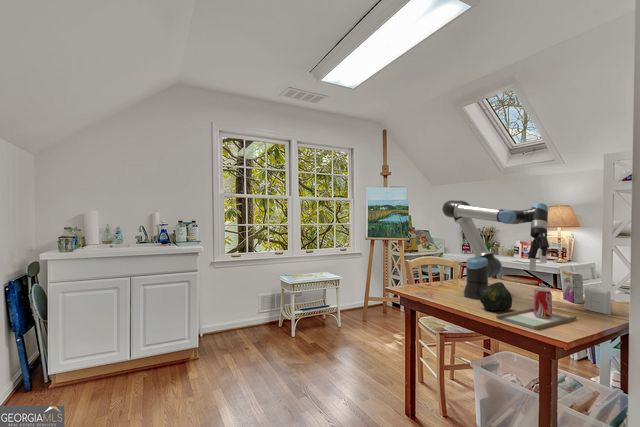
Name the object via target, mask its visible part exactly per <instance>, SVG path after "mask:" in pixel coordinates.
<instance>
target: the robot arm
mask: <svg viewBox="0 0 640 427" xmlns="http://www.w3.org/2000/svg"><path fill="white" fill-rule="evenodd" d="M548 208H549V207H548V206H547V204H545V203H541V202H536V203H534V204H532V205H531V208H528V209H522V210H516V209H515V210H511V209H502V208H492V207H486V206H478V205H477V206H475V205H471V204H470V203H469V202H468V201H465V200H453V199H452V200H451V199H450V200H447V201H445V203H443V205H442V209H441V210H442V213H443V214H444V216H446V217H447V218H452V219H453V220H454V222H455V223H456V224H458V225H459V227H460V229H461V230H462V232H463V235H464V236H465V240H466V242H468V245H469V246H470V249H471V251H472V252H473V255H474V256H473V257H469V258H467V259H466V264H465V266H466V270H465V271H466V284H465V288H464V290H463V296H464V297H466V298H468V299H475V300H480V293H481V291H482V289H484V288H485V287H487V286H489V278H495V277H497V276H498V275H500V274H501V272H502V270H503V263H502V262H501V260H500V259H498V258H497V257H495V254H494V253H493V252H491V251H489V250H488V247H487V245H486V244H485V242H484V240H483V238H482V236H481V233H480V232H479V229H478V228H477V226H476V224H475V223H474V220H473V219H476V220H481V221H482V220H483V221H489V222H495V223H496V222H498V223H502V224H505V225H519V224H526V223H530V237H531V238H532V241H530V248H529V253H528V257H527V259H529V270H530V271H534V272H536V269H537V268H536V266H537V264H536V263H537V258H536V256H537V254H538V251H539V262H540V263H543V264H547V258H548V257H547V256H548V253H547V252H548V249H549V248H550V245H549V240H548V228H549V225H548V218H549V215H548V214H549V209H548ZM539 249H540V250H539Z"/></svg>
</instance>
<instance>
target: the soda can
mask: <svg viewBox="0 0 640 427" xmlns="http://www.w3.org/2000/svg"><path fill="white" fill-rule="evenodd" d="M552 297H553V294H552V292H551V290H550V289H547V288H534V291H533V307H534V315H535V316H536V317H538V318H543V319H550V318H551V317H552V314H553V301H552V300H553V298H552Z"/></svg>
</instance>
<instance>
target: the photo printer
mask: <svg viewBox="0 0 640 427" xmlns="http://www.w3.org/2000/svg"><path fill="white" fill-rule="evenodd" d="M611 295H612V294H611V292H610V290H608V289H606V288H602V287H600V286H599V287H598V286H586V287H585V288H584V309H585V310H586V311H590V312H594V313H595V312H596V313H599V314H603V315H607V314H608V315H607V316H609V315H611V312H612V308H611V307H612V306H611V305H612V303H611V297H612V296H611Z"/></svg>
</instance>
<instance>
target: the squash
mask: <svg viewBox="0 0 640 427" xmlns="http://www.w3.org/2000/svg"><path fill="white" fill-rule="evenodd" d="M479 300H480V303H481V305H482V306H483V308H484V309H486V310H488V311H493V312H494V311H509V310H510V309H511V308H512V307H513V306H512V305H513V297H512V294H511V292H510V291H509V290H508V289H507V287H506V286H505V285H504V284H503V282H502V281H501V282H500V281H499V282H494V283H492V284H490V285H489V284H488V286H487V287H485V288H484V289H482V291H481V293H480V299H479Z"/></svg>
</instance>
